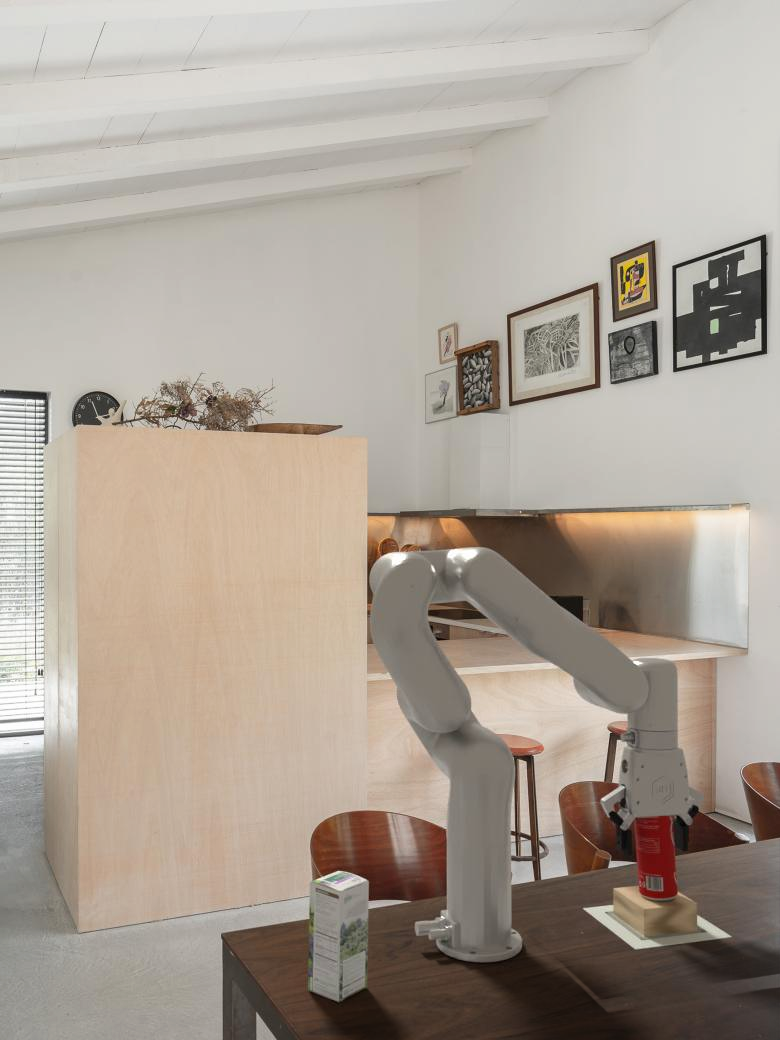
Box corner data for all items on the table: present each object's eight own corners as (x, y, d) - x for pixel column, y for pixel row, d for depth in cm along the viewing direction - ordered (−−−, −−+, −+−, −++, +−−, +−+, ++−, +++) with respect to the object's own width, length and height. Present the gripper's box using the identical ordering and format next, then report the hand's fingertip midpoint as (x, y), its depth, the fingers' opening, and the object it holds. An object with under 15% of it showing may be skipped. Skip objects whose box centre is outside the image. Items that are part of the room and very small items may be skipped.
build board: (635, 957, 134) (635, 948, 134) (582, 915, 149) (582, 907, 149) (732, 945, 138) (731, 936, 138) (671, 905, 153) (671, 897, 153)
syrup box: (336, 975, 128) (336, 868, 128) (369, 988, 124) (369, 877, 125) (307, 990, 123) (307, 879, 124) (340, 1004, 120) (340, 889, 120)
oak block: (644, 936, 138) (643, 909, 138) (613, 914, 147) (613, 888, 147) (697, 930, 140) (697, 903, 141) (664, 908, 149) (663, 882, 149)
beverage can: (682, 902, 141) (682, 802, 141) (639, 902, 141) (638, 801, 141) (671, 888, 147) (670, 792, 147) (629, 888, 147) (629, 791, 147)
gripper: (614, 746, 138) (614, 863, 138) (715, 741, 143) (716, 854, 143) (590, 737, 146) (590, 848, 145) (687, 732, 150) (687, 840, 150)
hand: (652, 851), depth 144 cm, fingers open, 9 cm apart
